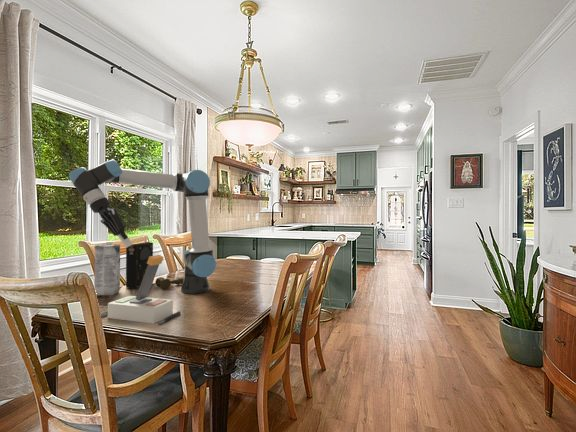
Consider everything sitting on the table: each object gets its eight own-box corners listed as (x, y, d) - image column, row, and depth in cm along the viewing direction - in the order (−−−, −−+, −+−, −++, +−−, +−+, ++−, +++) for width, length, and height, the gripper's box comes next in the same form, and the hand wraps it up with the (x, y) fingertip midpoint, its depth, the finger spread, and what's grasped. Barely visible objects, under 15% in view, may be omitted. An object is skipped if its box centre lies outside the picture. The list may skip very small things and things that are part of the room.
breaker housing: (172, 314, 133) (172, 298, 133) (153, 323, 122) (153, 306, 122) (129, 309, 139) (129, 294, 139) (107, 317, 128) (107, 301, 128)
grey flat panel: (181, 314, 133) (181, 311, 133) (160, 325, 120) (160, 321, 120) (124, 307, 141) (124, 304, 141) (99, 317, 128) (99, 313, 128)
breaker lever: (148, 297, 133) (163, 257, 131) (138, 301, 127) (154, 259, 125) (144, 294, 134) (159, 254, 131) (133, 298, 128) (149, 256, 126)
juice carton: (113, 296, 160) (114, 243, 160) (92, 296, 159) (92, 243, 159) (121, 291, 169) (121, 241, 169) (101, 291, 168) (101, 241, 168)
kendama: (189, 286, 184) (154, 291, 171) (182, 284, 192) (148, 288, 178) (189, 276, 184) (154, 280, 171) (182, 274, 192) (148, 277, 178)
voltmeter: (137, 289, 174) (137, 244, 173) (123, 288, 175) (123, 244, 175) (154, 283, 189) (154, 242, 189) (141, 282, 191) (142, 241, 190)
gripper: (85, 210, 138) (117, 254, 140) (93, 198, 130) (127, 245, 132) (101, 203, 144) (131, 246, 146) (110, 192, 136) (142, 237, 138)
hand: (129, 245), depth 139 cm, fingers closed
